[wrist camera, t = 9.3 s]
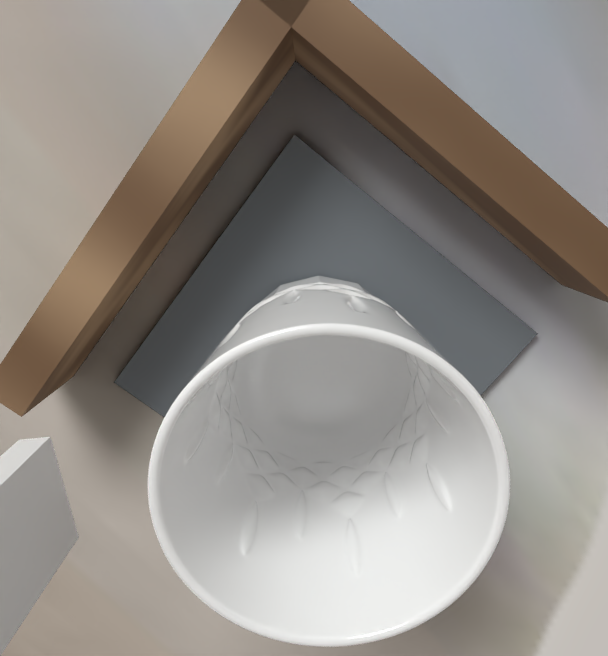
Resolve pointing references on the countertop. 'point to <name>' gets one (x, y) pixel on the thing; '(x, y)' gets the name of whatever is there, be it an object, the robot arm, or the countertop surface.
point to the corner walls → (227, 129)
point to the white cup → (328, 472)
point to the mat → (325, 260)
